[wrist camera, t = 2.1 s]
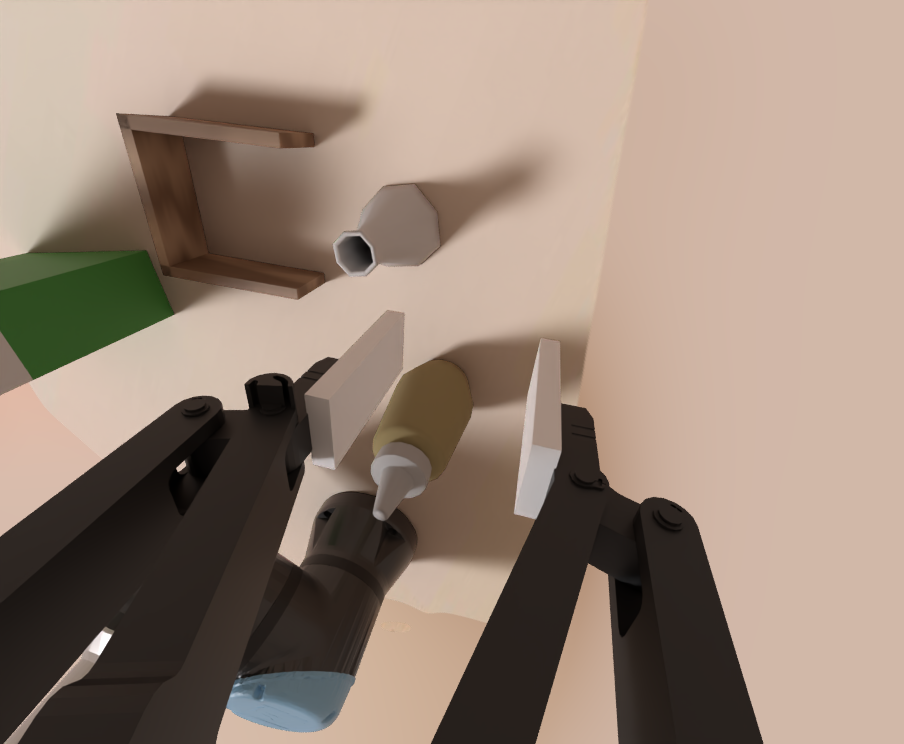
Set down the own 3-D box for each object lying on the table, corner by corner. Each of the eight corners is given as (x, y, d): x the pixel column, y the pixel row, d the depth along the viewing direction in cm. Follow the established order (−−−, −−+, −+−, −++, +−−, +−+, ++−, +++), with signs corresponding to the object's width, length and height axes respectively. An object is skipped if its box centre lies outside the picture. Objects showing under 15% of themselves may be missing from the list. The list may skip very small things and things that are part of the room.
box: (324, 282, 40) (297, 299, 36) (202, 261, 42) (163, 275, 38) (313, 133, 33) (278, 132, 29) (168, 116, 35) (115, 113, 31)
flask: (420, 167, 33) (373, 178, 25) (454, 251, 36) (422, 286, 27) (350, 203, 36) (286, 223, 27) (387, 277, 39) (339, 317, 30)
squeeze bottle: (478, 351, 40) (431, 479, 25) (480, 416, 44) (440, 561, 29) (402, 346, 42) (315, 464, 27) (410, 409, 46) (339, 543, 31)
